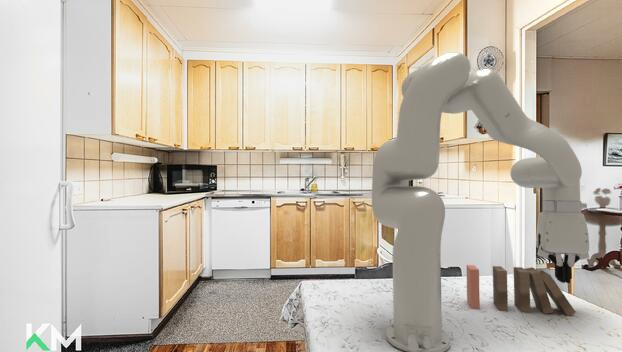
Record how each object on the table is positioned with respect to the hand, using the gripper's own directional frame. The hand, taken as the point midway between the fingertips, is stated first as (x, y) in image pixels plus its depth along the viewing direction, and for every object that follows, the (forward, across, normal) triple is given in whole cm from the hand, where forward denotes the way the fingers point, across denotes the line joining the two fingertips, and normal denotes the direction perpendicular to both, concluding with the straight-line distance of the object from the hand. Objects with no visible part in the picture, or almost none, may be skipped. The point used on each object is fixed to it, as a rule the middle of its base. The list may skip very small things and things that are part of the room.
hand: (563, 281), depth 83 cm
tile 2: (+7, +4, 0) cm, 9 cm away
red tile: (+8, +21, 0) cm, 22 cm away
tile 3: (+8, +9, 0) cm, 12 cm away
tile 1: (+7, 0, 0) cm, 7 cm away
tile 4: (+8, +14, 0) cm, 16 cm away
